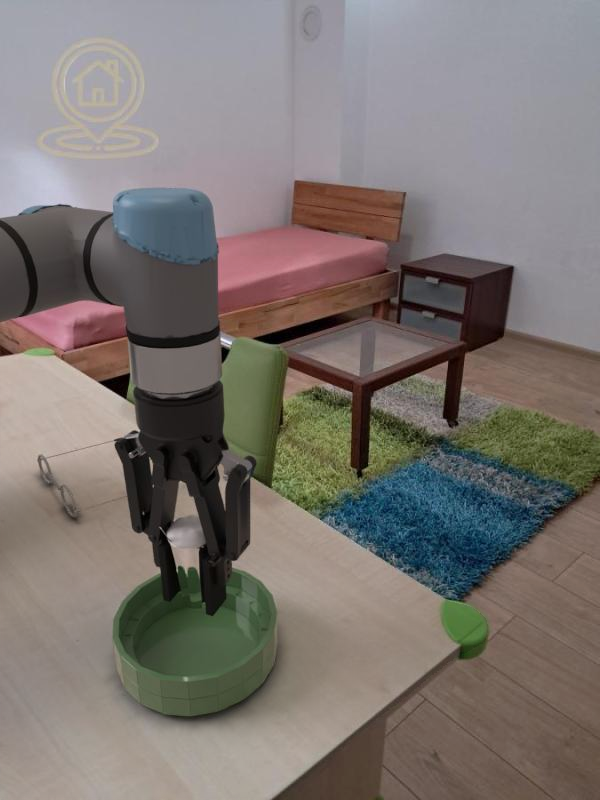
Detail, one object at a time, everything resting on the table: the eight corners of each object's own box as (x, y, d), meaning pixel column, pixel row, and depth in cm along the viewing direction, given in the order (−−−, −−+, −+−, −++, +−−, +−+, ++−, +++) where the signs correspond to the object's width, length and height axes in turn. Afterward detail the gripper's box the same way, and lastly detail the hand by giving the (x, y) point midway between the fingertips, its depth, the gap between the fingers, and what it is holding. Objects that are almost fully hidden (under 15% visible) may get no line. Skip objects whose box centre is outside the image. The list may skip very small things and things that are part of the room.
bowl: (83, 685, 62) (76, 647, 60) (176, 583, 75) (173, 549, 73) (229, 745, 56) (226, 705, 54) (300, 623, 70) (301, 587, 68)
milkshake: (160, 601, 63) (147, 517, 59) (205, 578, 66) (197, 496, 62) (183, 626, 60) (172, 538, 56) (230, 600, 63) (223, 515, 59)
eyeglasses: (36, 471, 99) (32, 448, 97) (148, 441, 109) (147, 420, 108) (75, 526, 86) (72, 501, 84) (199, 486, 96) (198, 463, 95)
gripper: (289, 382, 53) (289, 599, 63) (122, 353, 60) (145, 555, 69) (248, 417, 47) (255, 652, 57) (66, 381, 53) (100, 599, 63)
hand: (195, 598), depth 63 cm, fingers closed on milkshake, 4 cm apart
